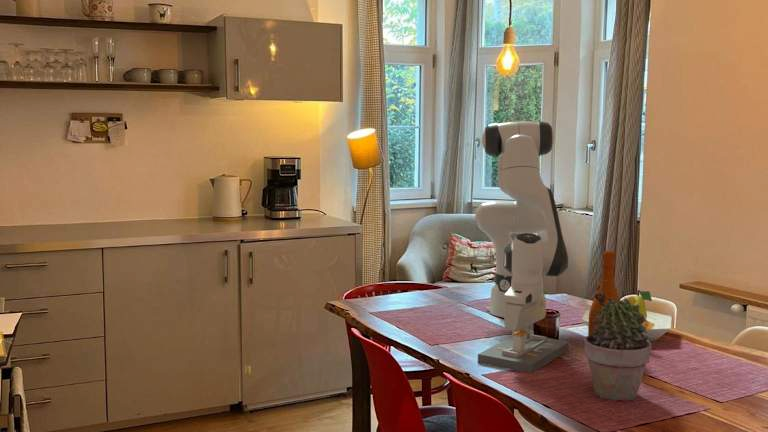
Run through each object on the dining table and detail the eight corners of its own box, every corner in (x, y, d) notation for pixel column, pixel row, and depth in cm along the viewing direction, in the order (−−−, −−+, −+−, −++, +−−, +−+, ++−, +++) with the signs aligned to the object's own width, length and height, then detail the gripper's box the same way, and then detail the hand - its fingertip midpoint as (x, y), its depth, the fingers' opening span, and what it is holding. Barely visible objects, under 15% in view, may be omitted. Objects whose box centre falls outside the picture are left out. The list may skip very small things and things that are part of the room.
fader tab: (516, 348, 217) (517, 330, 216) (526, 350, 215) (526, 331, 214) (511, 351, 214) (512, 333, 213) (520, 352, 212) (521, 334, 212)
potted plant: (651, 414, 175) (657, 307, 172) (568, 398, 185) (571, 296, 182) (669, 391, 190) (674, 292, 187) (590, 377, 200) (594, 283, 197)
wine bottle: (623, 351, 223) (628, 248, 219) (622, 361, 214) (627, 254, 210) (588, 347, 226) (592, 246, 222) (586, 357, 217) (590, 252, 213)
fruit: (693, 337, 238) (695, 291, 236) (645, 352, 222) (647, 304, 220) (610, 317, 261) (611, 275, 259) (561, 330, 245) (562, 286, 243)
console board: (518, 340, 233) (519, 328, 233) (569, 349, 224) (569, 337, 223) (477, 362, 212) (478, 349, 212) (531, 373, 203) (531, 360, 202)
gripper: (531, 284, 226) (530, 330, 227) (500, 297, 209) (499, 346, 211) (552, 287, 222) (550, 333, 224) (521, 300, 206) (520, 350, 207)
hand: (525, 340), depth 217 cm, fingers closed
